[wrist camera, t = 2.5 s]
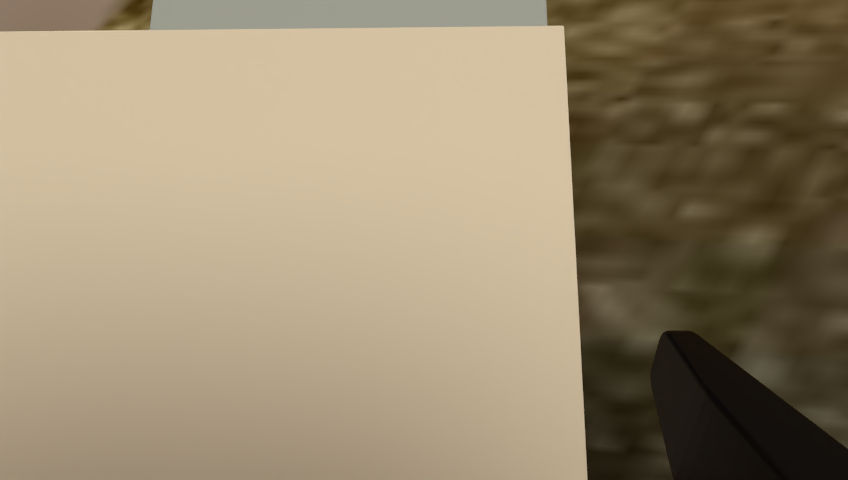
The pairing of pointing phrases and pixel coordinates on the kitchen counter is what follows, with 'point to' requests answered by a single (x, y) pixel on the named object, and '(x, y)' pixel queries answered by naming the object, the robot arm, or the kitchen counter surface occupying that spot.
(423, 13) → the ticket block
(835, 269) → the kitchen counter surface
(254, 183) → the beige upright block
